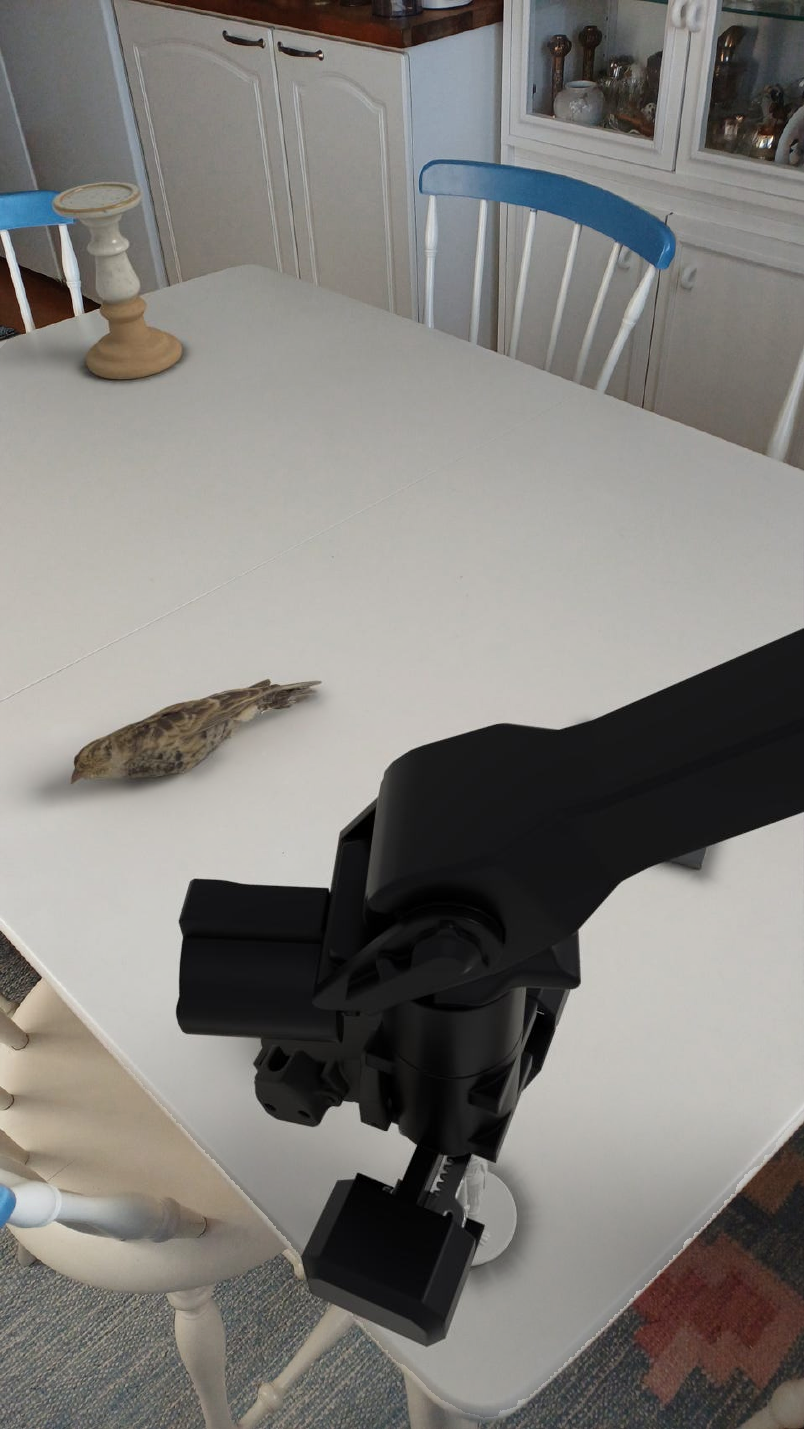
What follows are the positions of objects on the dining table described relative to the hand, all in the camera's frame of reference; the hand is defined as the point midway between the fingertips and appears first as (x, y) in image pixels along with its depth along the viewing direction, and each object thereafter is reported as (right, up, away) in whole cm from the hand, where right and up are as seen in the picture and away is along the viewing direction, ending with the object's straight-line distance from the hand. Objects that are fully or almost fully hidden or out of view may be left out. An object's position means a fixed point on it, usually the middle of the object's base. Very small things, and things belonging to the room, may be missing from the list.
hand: (452, 1185), depth 54 cm
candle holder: (-37, +70, +86) cm, 117 cm away
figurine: (+1, -3, +3) cm, 5 cm away
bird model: (-18, +21, +31) cm, 42 cm away
